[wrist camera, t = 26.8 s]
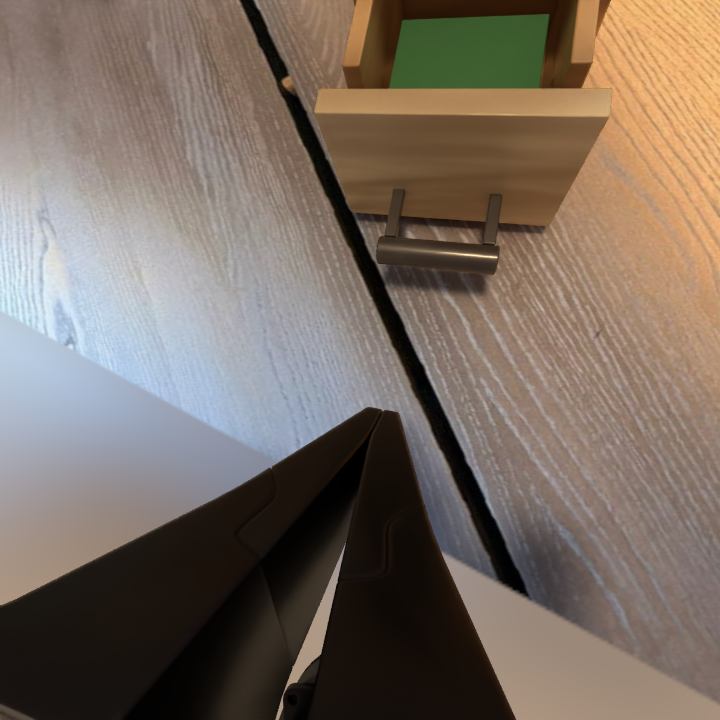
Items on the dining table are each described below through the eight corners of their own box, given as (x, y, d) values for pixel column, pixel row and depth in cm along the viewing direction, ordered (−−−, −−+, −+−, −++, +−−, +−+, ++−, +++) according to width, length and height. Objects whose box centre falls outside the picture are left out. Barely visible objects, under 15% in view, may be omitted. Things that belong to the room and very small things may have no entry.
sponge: (520, 157, 21) (538, 97, 18) (395, 153, 23) (386, 96, 19) (530, 86, 22) (550, 13, 18) (407, 86, 24) (402, 19, 20)
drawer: (540, 297, 21) (599, 221, 13) (339, 275, 23) (293, 201, 16) (572, 34, 23) (638, -156, 16) (386, 39, 26) (366, -123, 18)
